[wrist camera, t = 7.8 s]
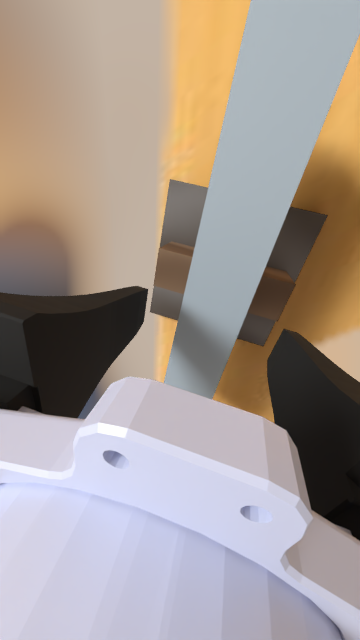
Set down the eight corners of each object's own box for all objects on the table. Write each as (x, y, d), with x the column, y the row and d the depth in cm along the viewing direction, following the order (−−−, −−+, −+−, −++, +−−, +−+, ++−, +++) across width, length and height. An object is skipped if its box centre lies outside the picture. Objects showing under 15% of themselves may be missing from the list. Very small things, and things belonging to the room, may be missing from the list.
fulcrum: (262, 340, 23) (267, 369, 19) (153, 308, 24) (136, 327, 20) (323, 214, 17) (348, 217, 13) (173, 180, 18) (155, 173, 14)
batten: (202, 400, 22) (192, 447, 18) (169, 389, 23) (152, 432, 18) (327, 62, 10) (389, -40, 6) (253, 50, 11) (263, -53, 6)
